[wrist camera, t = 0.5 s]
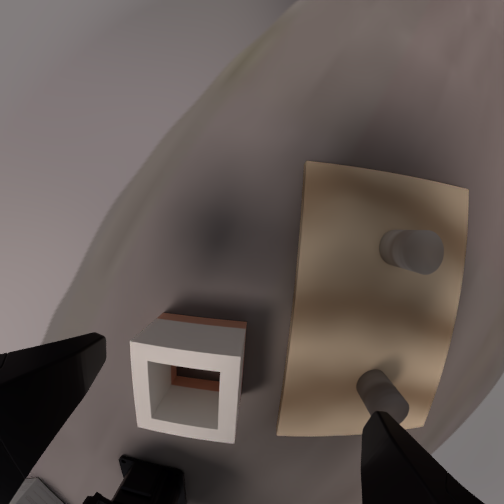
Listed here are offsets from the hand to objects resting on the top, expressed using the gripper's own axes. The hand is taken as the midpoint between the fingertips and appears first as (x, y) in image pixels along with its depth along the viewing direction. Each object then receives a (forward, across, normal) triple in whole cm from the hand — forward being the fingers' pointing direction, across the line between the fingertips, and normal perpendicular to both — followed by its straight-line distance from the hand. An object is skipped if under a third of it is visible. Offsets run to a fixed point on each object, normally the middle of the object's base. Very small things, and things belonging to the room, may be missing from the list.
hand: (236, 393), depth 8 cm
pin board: (+12, -9, +1) cm, 15 cm away
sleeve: (+11, +3, +7) cm, 13 cm away
